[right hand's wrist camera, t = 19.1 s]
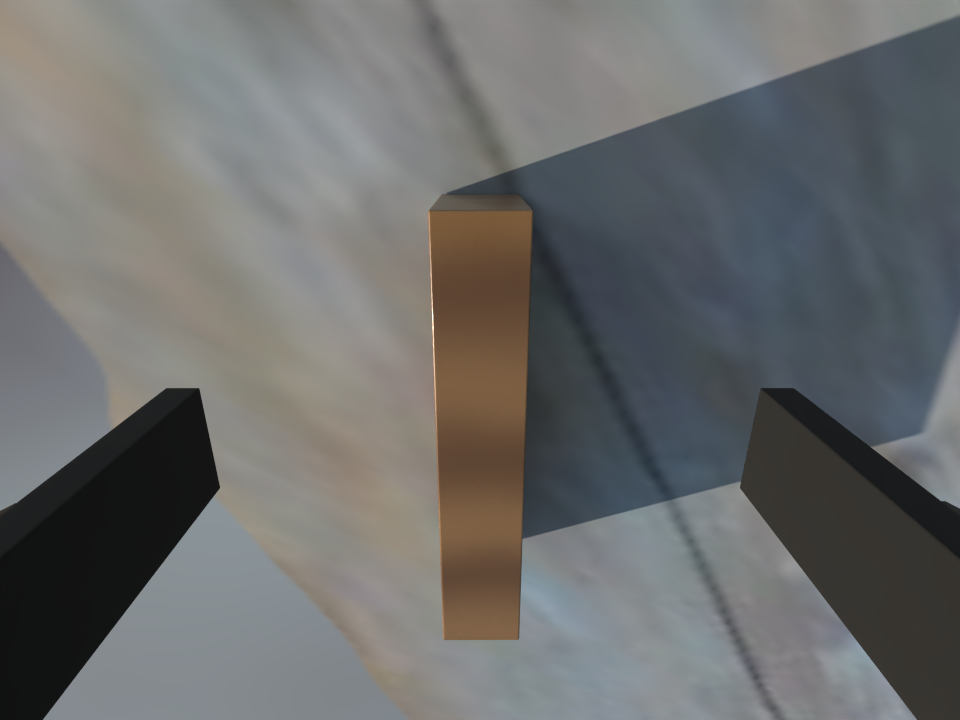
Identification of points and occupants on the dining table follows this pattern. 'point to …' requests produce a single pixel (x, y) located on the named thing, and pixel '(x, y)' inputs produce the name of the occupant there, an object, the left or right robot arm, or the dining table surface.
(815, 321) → the dining table surface
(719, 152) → the dining table surface
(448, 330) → the bar
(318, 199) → the dining table surface
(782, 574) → the dining table surface
